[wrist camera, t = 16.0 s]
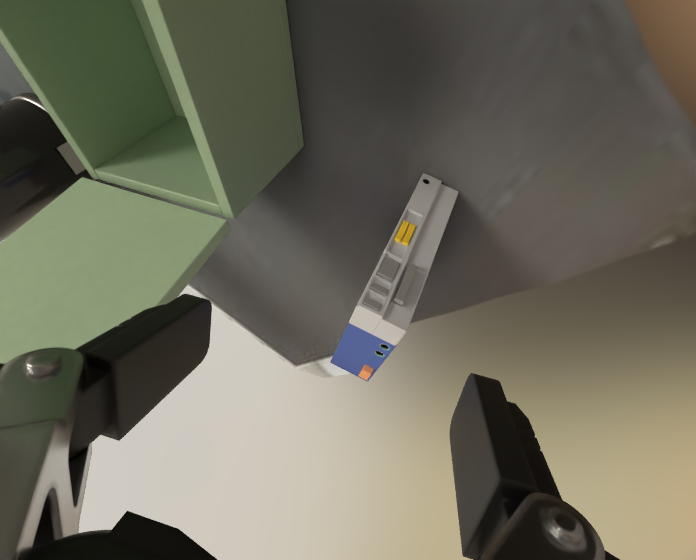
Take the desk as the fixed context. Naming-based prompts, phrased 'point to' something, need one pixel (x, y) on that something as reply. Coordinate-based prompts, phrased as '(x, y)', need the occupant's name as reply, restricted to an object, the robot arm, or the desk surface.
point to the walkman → (396, 281)
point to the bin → (165, 91)
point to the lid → (96, 265)
